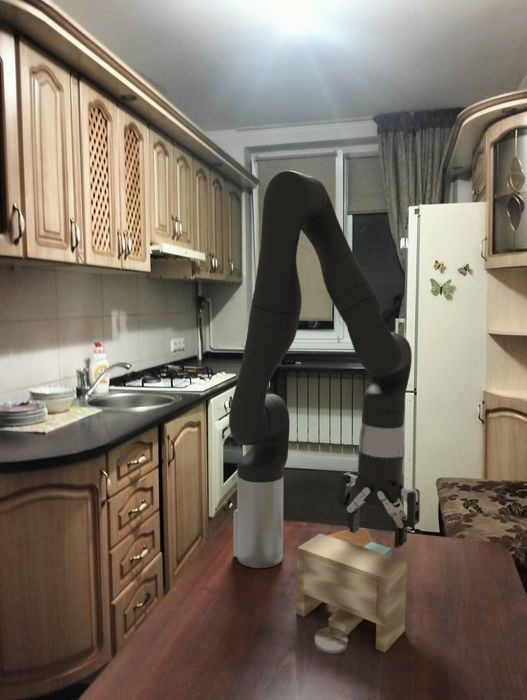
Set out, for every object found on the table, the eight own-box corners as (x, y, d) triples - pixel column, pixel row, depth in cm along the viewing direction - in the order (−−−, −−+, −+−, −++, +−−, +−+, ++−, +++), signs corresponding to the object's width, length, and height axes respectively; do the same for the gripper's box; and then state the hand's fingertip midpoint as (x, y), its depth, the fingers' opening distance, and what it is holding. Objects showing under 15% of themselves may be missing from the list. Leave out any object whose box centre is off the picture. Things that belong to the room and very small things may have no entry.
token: (308, 647, 83) (308, 639, 83) (324, 630, 87) (324, 623, 87) (338, 659, 80) (338, 651, 80) (352, 642, 84) (353, 634, 84)
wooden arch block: (295, 614, 91) (296, 548, 90) (319, 596, 97) (320, 533, 96) (384, 653, 81) (386, 579, 80) (404, 630, 87) (406, 561, 86)
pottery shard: (320, 542, 119) (320, 531, 119) (355, 533, 123) (355, 523, 123) (349, 563, 110) (349, 551, 110) (385, 553, 114) (385, 541, 114)
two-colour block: (325, 628, 87) (326, 574, 86) (369, 589, 99) (370, 541, 98) (347, 638, 85) (349, 582, 84) (390, 597, 96) (391, 548, 96)
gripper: (333, 445, 95) (329, 534, 97) (412, 463, 87) (405, 560, 89) (354, 436, 101) (350, 520, 103) (429, 452, 93) (423, 543, 95)
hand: (376, 538), depth 96 cm, fingers open, 8 cm apart
